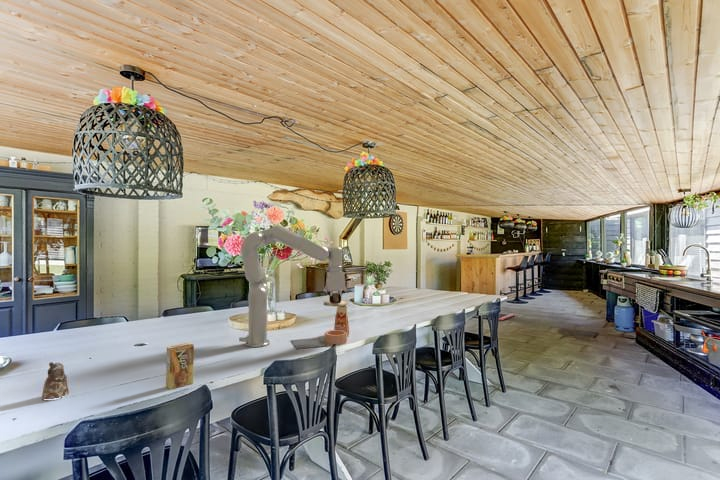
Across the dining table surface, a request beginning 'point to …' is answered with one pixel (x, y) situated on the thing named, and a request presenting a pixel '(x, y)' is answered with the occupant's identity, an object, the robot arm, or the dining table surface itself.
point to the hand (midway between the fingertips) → (335, 302)
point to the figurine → (55, 382)
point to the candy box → (179, 365)
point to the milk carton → (342, 319)
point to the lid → (335, 301)
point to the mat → (308, 343)
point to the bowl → (335, 337)
